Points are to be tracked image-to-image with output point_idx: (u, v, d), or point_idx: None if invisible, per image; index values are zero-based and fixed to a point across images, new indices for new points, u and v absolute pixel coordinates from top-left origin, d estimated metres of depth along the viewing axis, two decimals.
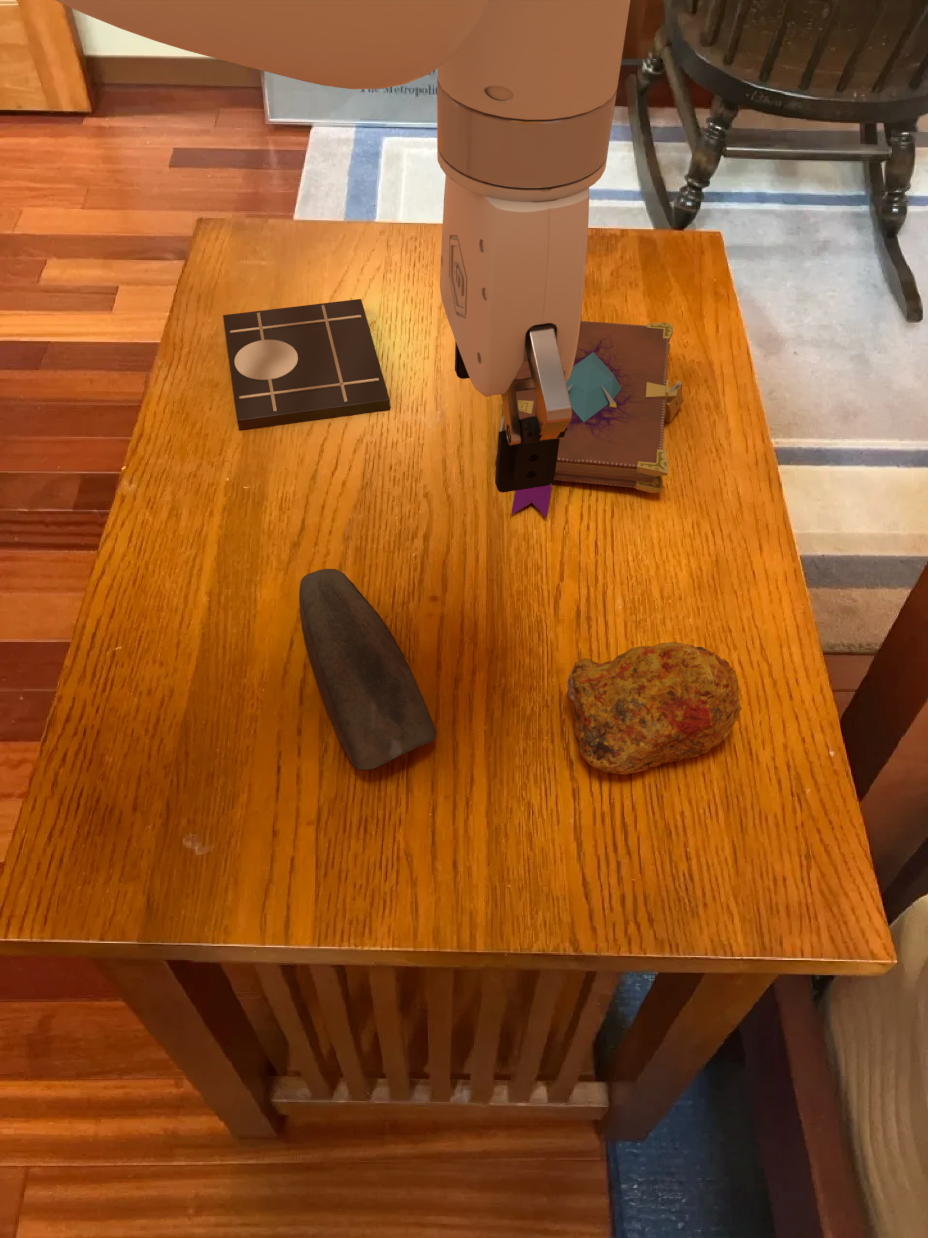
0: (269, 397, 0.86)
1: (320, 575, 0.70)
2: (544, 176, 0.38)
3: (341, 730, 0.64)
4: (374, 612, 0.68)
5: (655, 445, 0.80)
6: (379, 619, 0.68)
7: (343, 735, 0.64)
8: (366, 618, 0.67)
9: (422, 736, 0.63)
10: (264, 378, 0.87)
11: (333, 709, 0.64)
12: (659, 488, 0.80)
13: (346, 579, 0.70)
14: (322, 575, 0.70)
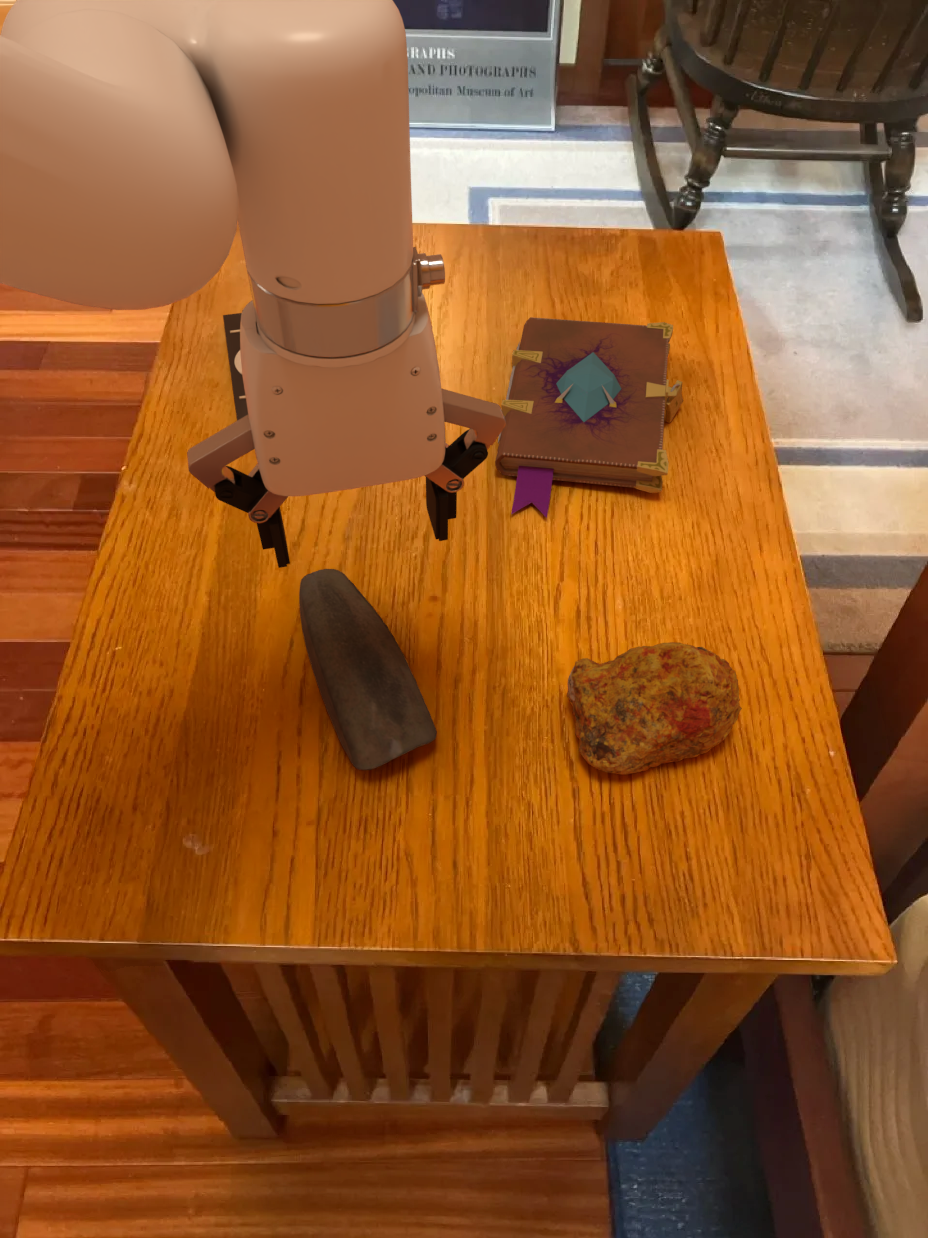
0: None
1: (320, 575, 0.70)
2: None
3: (341, 730, 0.64)
4: (374, 612, 0.68)
5: (655, 445, 0.80)
6: (379, 619, 0.68)
7: (343, 735, 0.64)
8: (366, 618, 0.67)
9: (422, 736, 0.63)
10: None
11: (333, 709, 0.64)
12: (659, 487, 0.80)
13: (346, 579, 0.70)
14: (322, 575, 0.70)
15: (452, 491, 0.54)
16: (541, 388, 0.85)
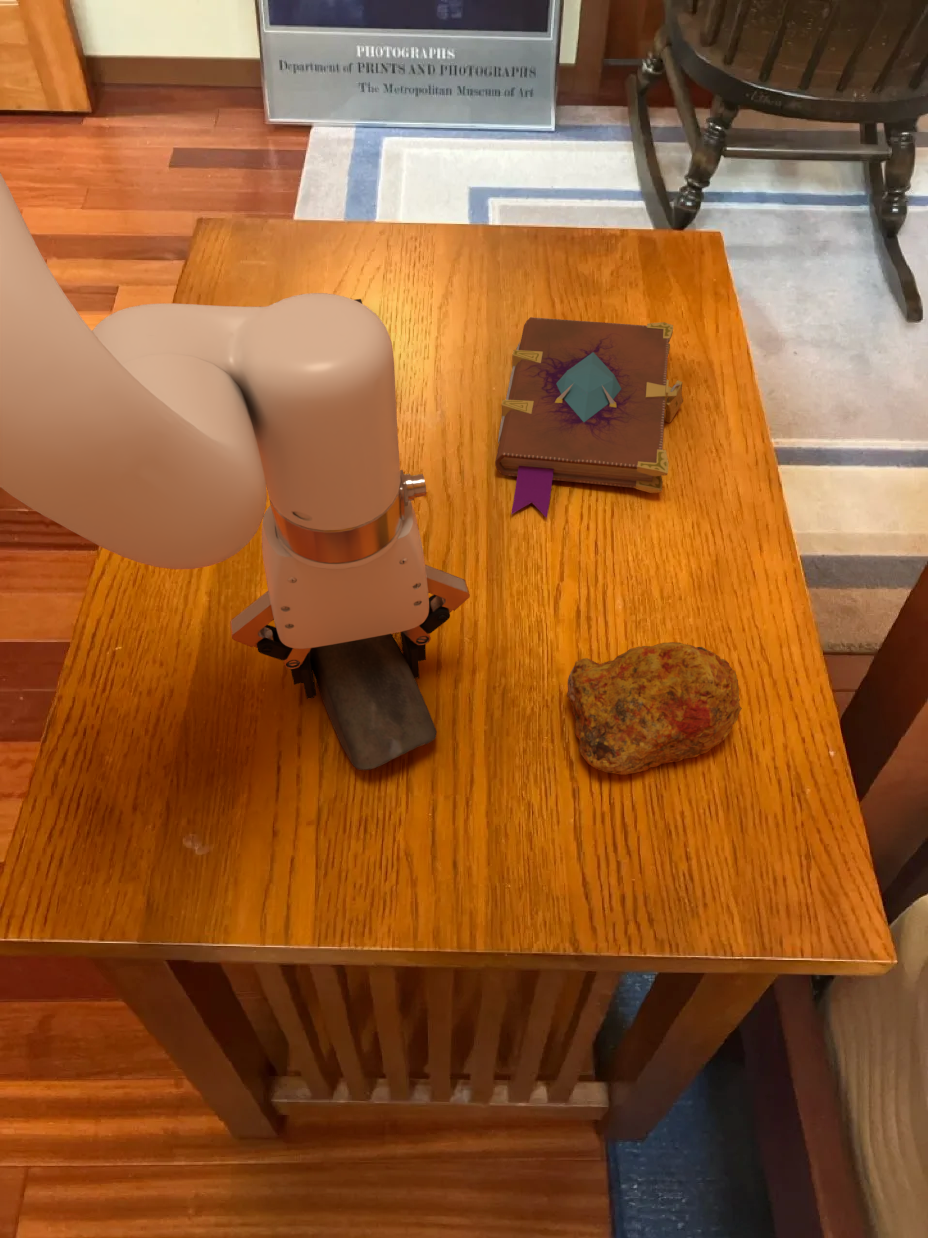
0: None
1: None
2: None
3: (341, 730, 0.64)
4: None
5: (655, 445, 0.80)
6: None
7: (343, 735, 0.64)
8: None
9: (422, 736, 0.63)
10: None
11: (333, 709, 0.64)
12: (659, 488, 0.80)
13: None
14: None
15: (421, 644, 0.65)
16: (541, 388, 0.85)
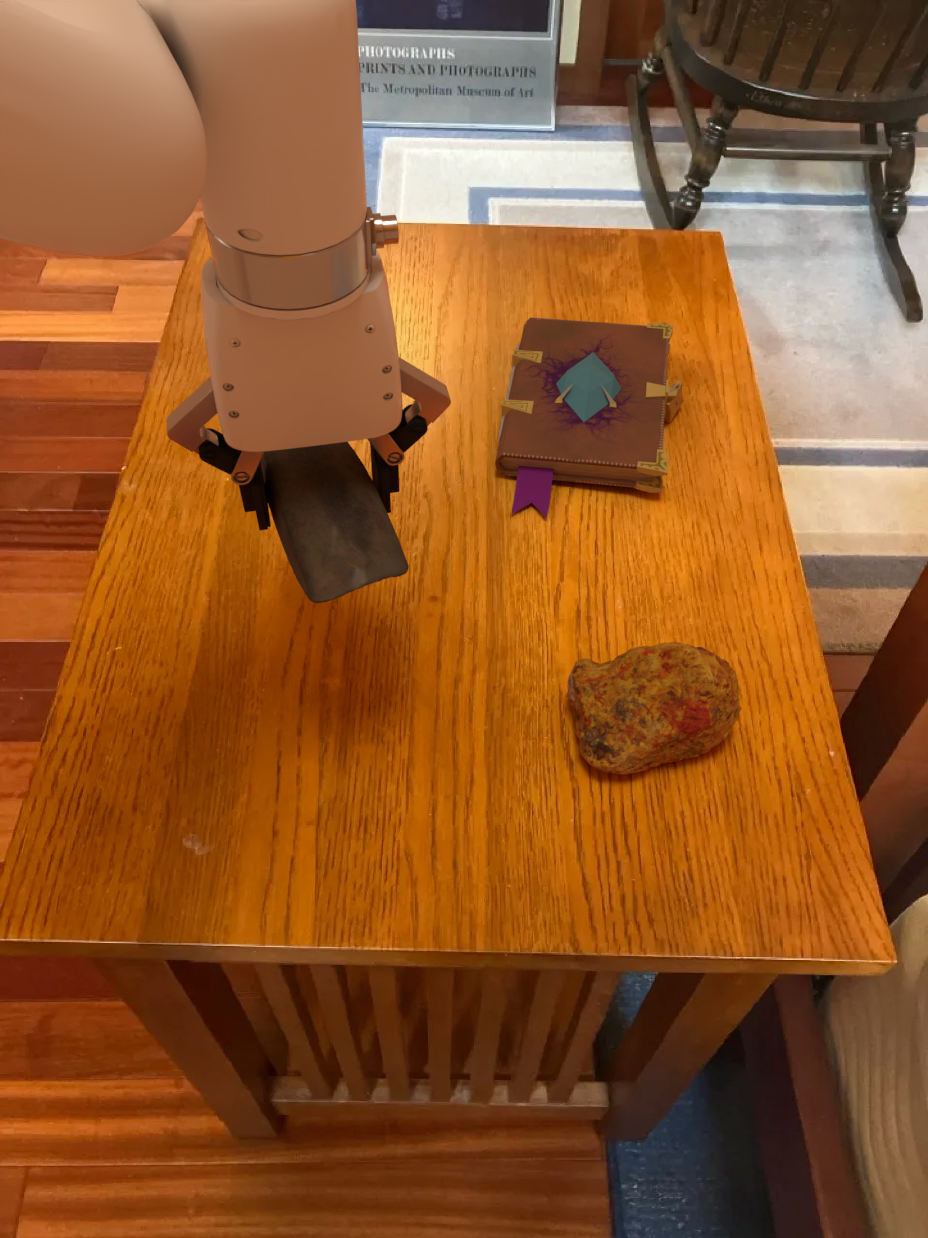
0: None
1: None
2: None
3: (296, 558, 0.54)
4: None
5: (655, 445, 0.80)
6: (346, 443, 0.58)
7: (298, 564, 0.54)
8: None
9: (391, 567, 0.54)
10: None
11: (288, 536, 0.55)
12: (659, 488, 0.80)
13: None
14: None
15: (393, 464, 0.56)
16: (541, 388, 0.85)
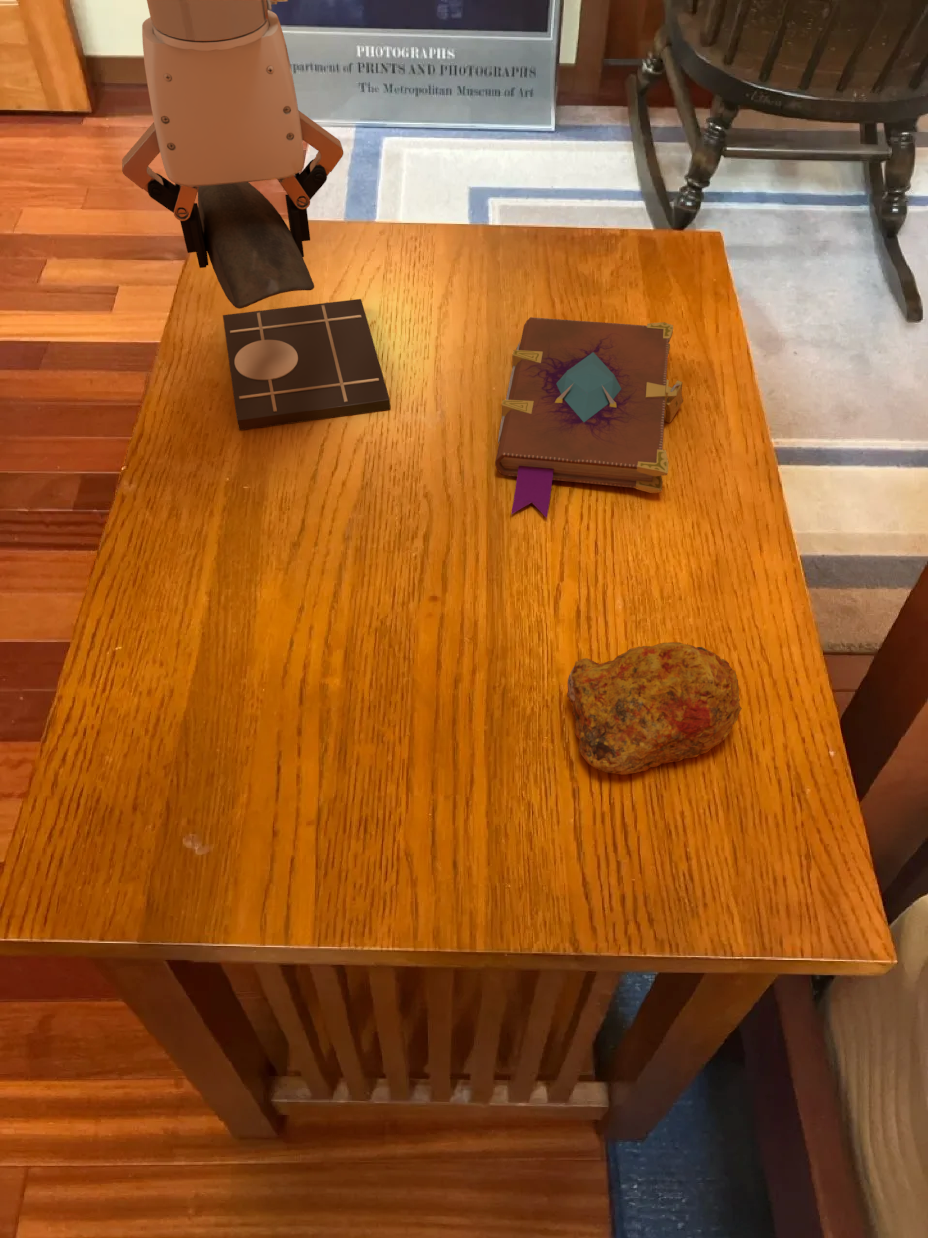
0: (269, 397, 0.86)
1: None
2: None
3: (225, 277, 0.70)
4: None
5: (655, 445, 0.80)
6: (268, 201, 0.74)
7: (227, 281, 0.70)
8: (255, 198, 0.74)
9: (299, 282, 0.70)
10: (264, 378, 0.87)
11: (219, 262, 0.71)
12: (659, 488, 0.80)
13: None
14: None
15: (302, 208, 0.71)
16: (541, 388, 0.85)
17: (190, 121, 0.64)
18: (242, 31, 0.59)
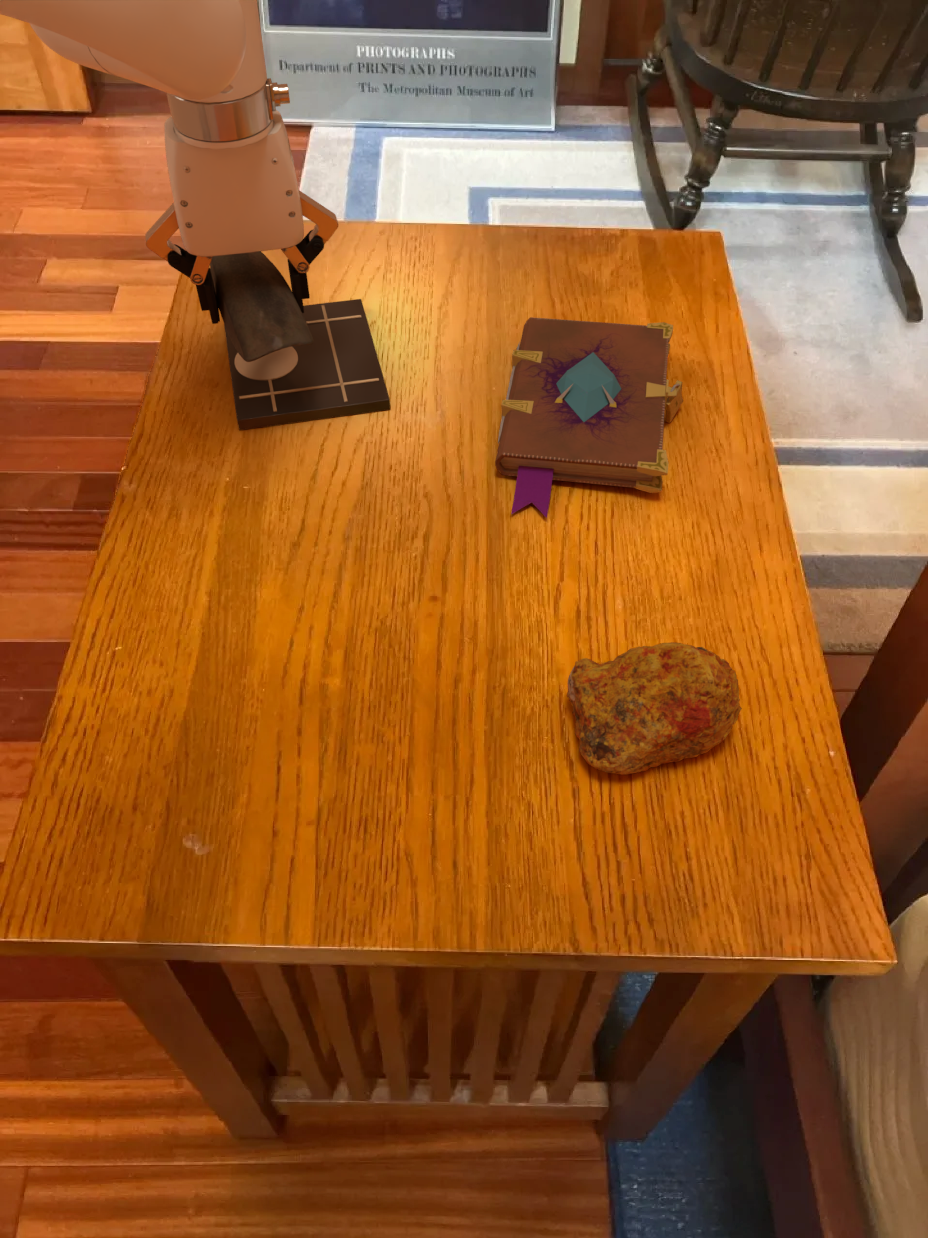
0: (269, 397, 0.86)
1: None
2: None
3: (236, 334, 0.80)
4: (268, 259, 0.84)
5: (655, 445, 0.80)
6: (272, 263, 0.84)
7: (237, 337, 0.80)
8: (261, 261, 0.83)
9: (300, 338, 0.80)
10: (264, 378, 0.87)
11: (230, 320, 0.80)
12: (659, 487, 0.80)
13: None
14: None
15: (302, 272, 0.81)
16: (541, 388, 0.85)
17: (205, 204, 0.73)
18: (251, 132, 0.69)
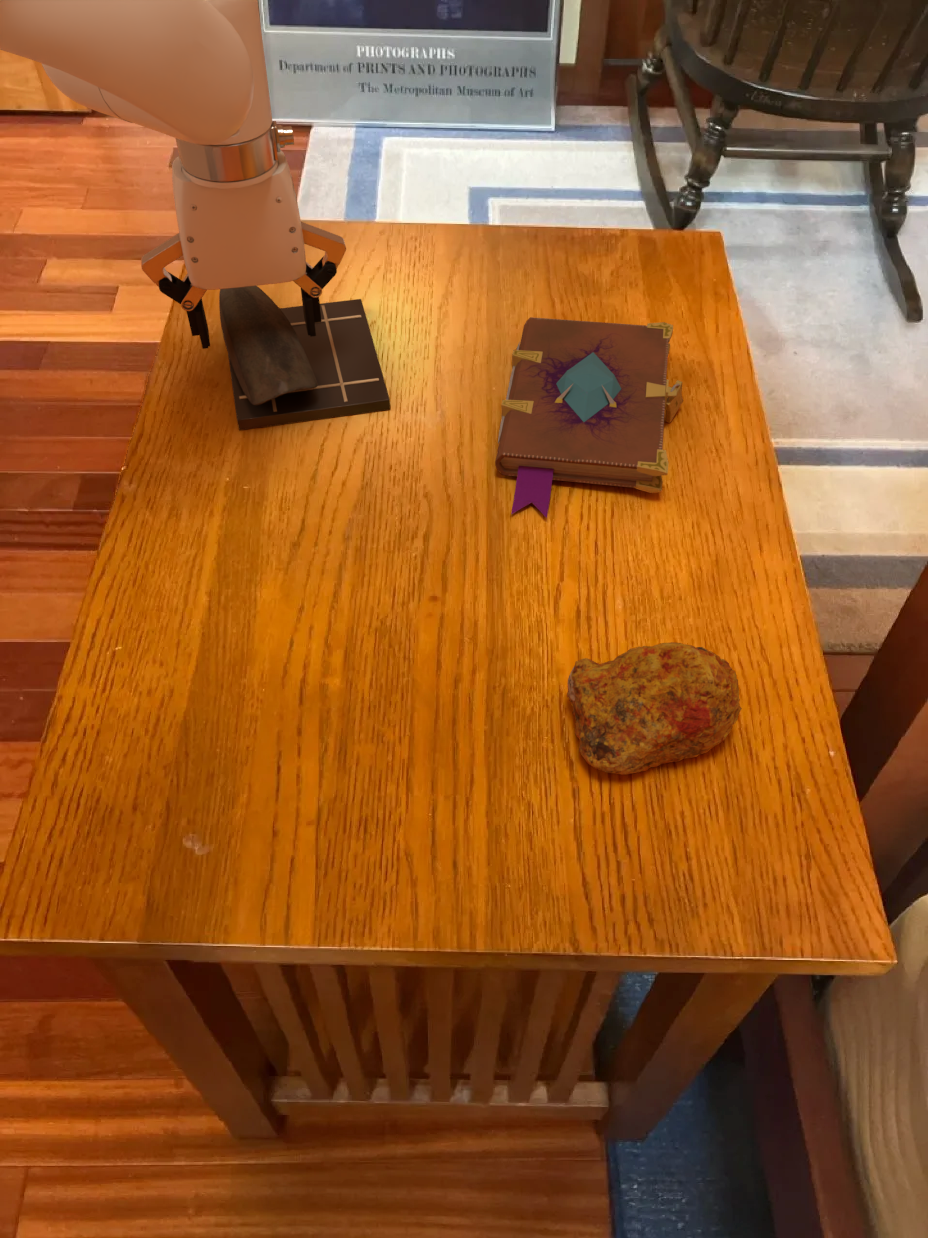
0: None
1: None
2: None
3: (243, 378, 0.84)
4: (275, 304, 0.88)
5: (655, 445, 0.80)
6: (278, 308, 0.88)
7: (245, 381, 0.83)
8: (268, 307, 0.87)
9: (305, 382, 0.83)
10: None
11: (238, 365, 0.84)
12: (659, 487, 0.80)
13: None
14: None
15: (315, 296, 0.83)
16: (541, 388, 0.85)
17: (211, 240, 0.76)
18: (256, 173, 0.71)
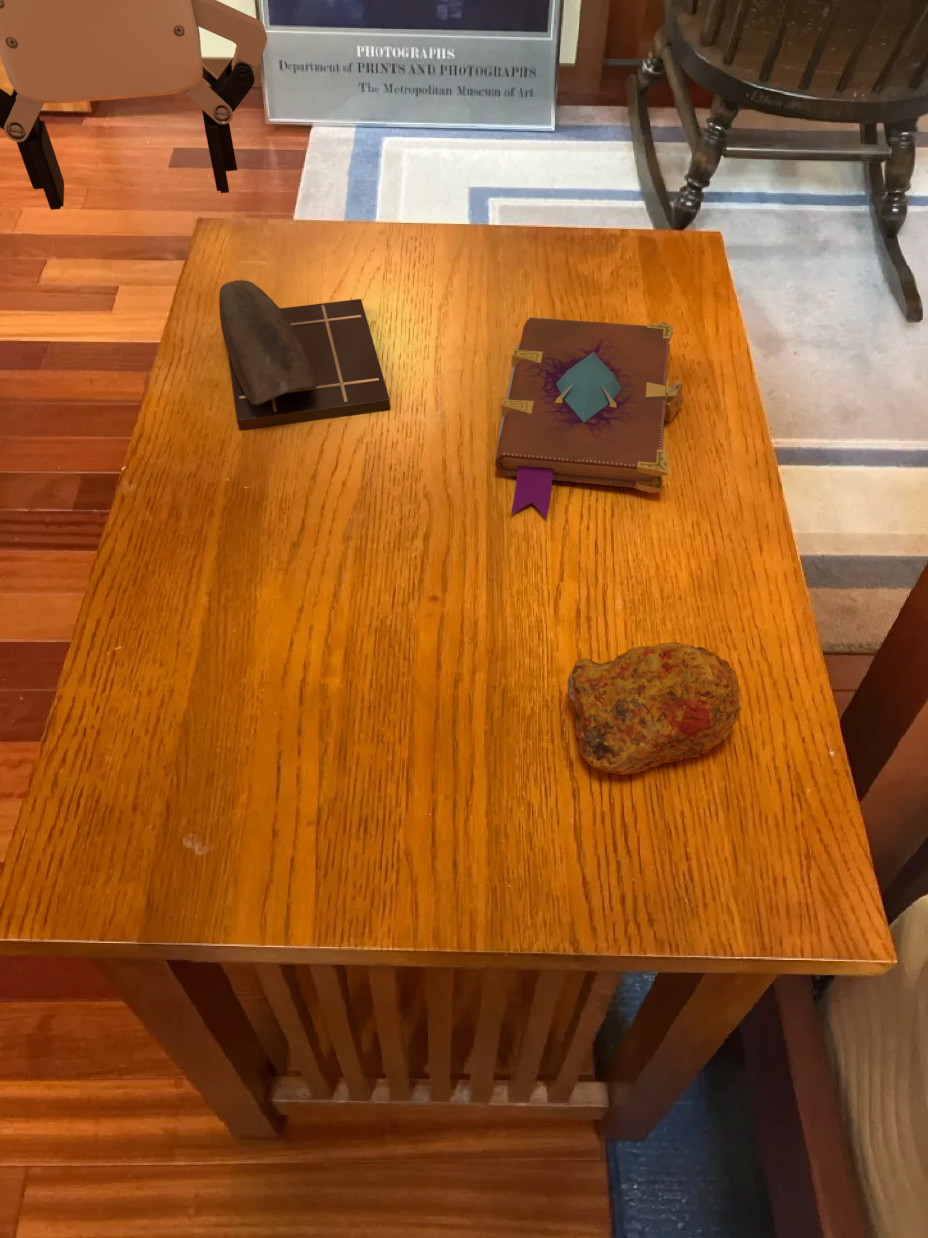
0: None
1: (235, 282, 0.90)
2: None
3: (243, 378, 0.84)
4: (275, 304, 0.88)
5: (655, 445, 0.80)
6: (278, 308, 0.88)
7: (245, 381, 0.83)
8: (268, 307, 0.87)
9: (305, 382, 0.83)
10: None
11: (238, 365, 0.84)
12: (659, 488, 0.80)
13: None
14: (237, 282, 0.90)
15: (222, 122, 0.53)
16: (541, 388, 0.85)
17: (34, 5, 0.46)
18: None
